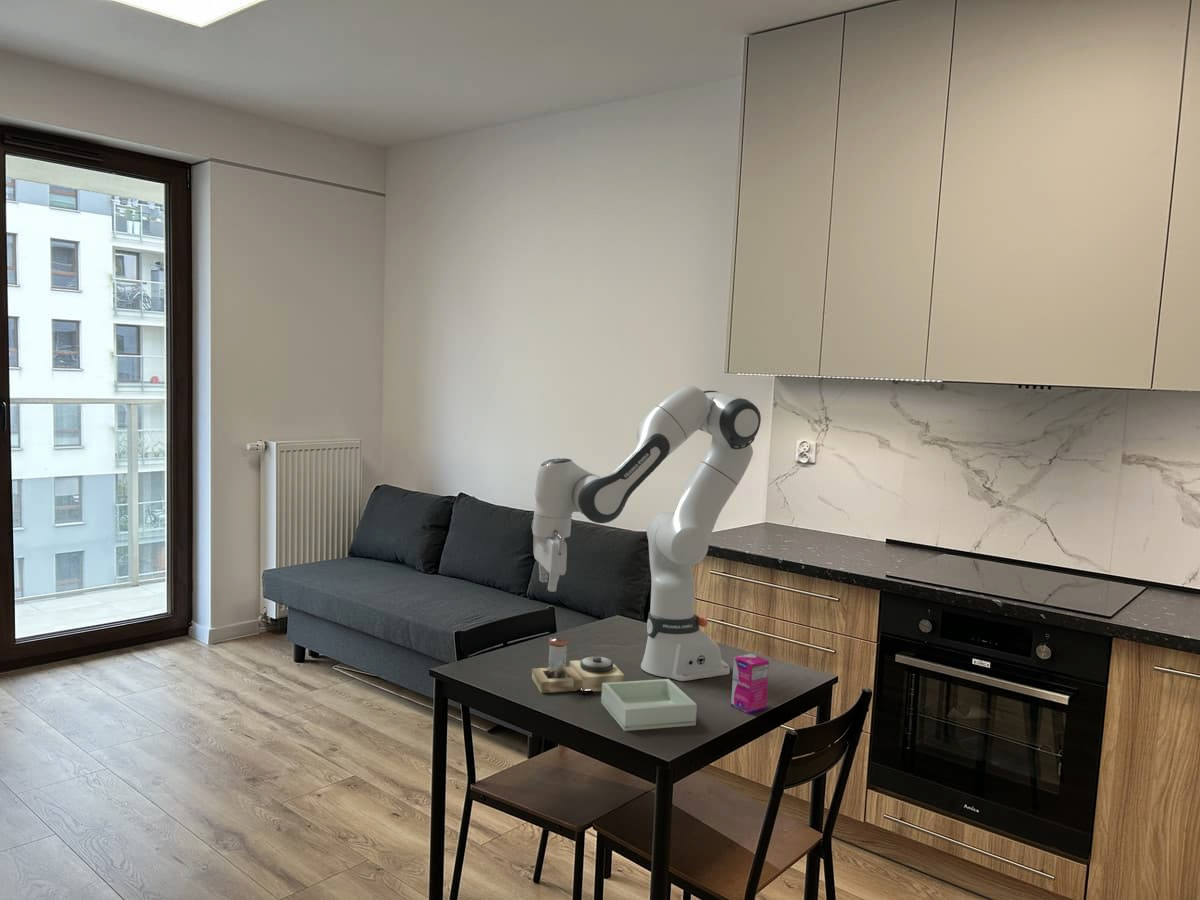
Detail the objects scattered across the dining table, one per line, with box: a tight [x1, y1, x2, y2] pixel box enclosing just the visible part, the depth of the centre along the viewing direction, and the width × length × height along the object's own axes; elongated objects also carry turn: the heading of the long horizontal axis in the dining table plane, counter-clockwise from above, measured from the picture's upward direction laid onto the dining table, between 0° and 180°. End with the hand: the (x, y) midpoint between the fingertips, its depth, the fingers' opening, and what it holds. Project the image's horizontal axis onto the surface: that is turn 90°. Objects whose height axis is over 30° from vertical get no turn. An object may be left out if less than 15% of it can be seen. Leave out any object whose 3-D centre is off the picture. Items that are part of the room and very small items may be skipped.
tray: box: [600, 678, 698, 732], centre depth 190 cm, size 16×16×4 cm
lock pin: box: [547, 635, 568, 679], centre depth 205 cm, size 4×4×11 cm
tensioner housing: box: [531, 656, 626, 694], centre depth 207 cm, size 20×12×6 cm, turn 107°
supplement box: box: [730, 653, 770, 715], centre depth 196 cm, size 6×6×12 cm
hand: (547, 586), depth 204 cm, fingers open, 8 cm apart
